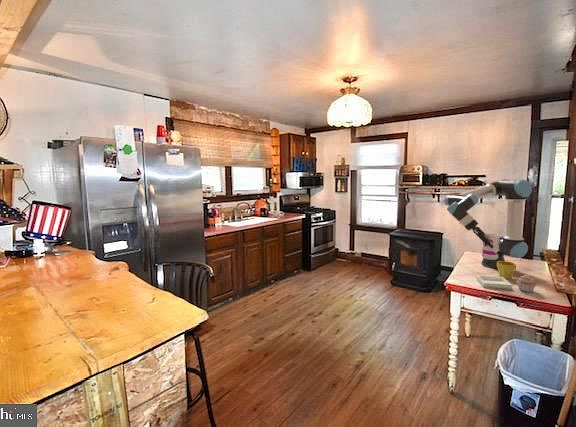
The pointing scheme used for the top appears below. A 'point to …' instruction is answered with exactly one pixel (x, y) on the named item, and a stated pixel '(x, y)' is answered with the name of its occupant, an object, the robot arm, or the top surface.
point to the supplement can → (487, 251)
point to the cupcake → (526, 283)
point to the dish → (494, 282)
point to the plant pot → (506, 269)
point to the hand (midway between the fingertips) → (497, 250)
